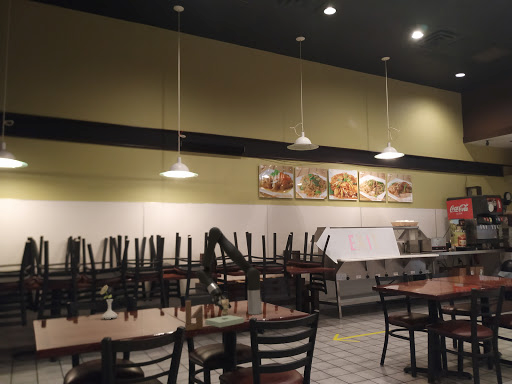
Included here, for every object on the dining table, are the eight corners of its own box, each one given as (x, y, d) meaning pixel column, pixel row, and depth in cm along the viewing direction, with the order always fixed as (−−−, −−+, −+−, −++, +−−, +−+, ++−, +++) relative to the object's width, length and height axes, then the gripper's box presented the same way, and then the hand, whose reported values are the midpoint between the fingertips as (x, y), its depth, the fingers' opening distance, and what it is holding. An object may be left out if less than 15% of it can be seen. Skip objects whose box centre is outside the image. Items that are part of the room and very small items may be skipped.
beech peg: (226, 317, 301) (225, 299, 302) (230, 318, 297) (229, 299, 299) (220, 318, 298) (219, 299, 299) (224, 319, 294) (224, 300, 295)
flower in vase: (111, 316, 321) (111, 283, 323) (120, 318, 314) (120, 283, 317) (96, 319, 310) (96, 285, 313) (105, 321, 304) (105, 285, 306)
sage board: (229, 319, 294) (229, 315, 294) (244, 322, 282) (243, 317, 282) (205, 324, 281) (205, 319, 281) (219, 327, 269) (219, 322, 269)
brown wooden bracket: (203, 329, 266) (202, 299, 268) (186, 331, 262) (185, 301, 264) (201, 327, 270) (200, 299, 271) (184, 329, 265) (184, 300, 267)
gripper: (209, 288, 299) (222, 306, 290) (224, 286, 310) (236, 303, 301) (204, 295, 302) (216, 313, 293) (219, 293, 313) (231, 310, 304)
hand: (226, 308), depth 297 cm, fingers open, 7 cm apart
